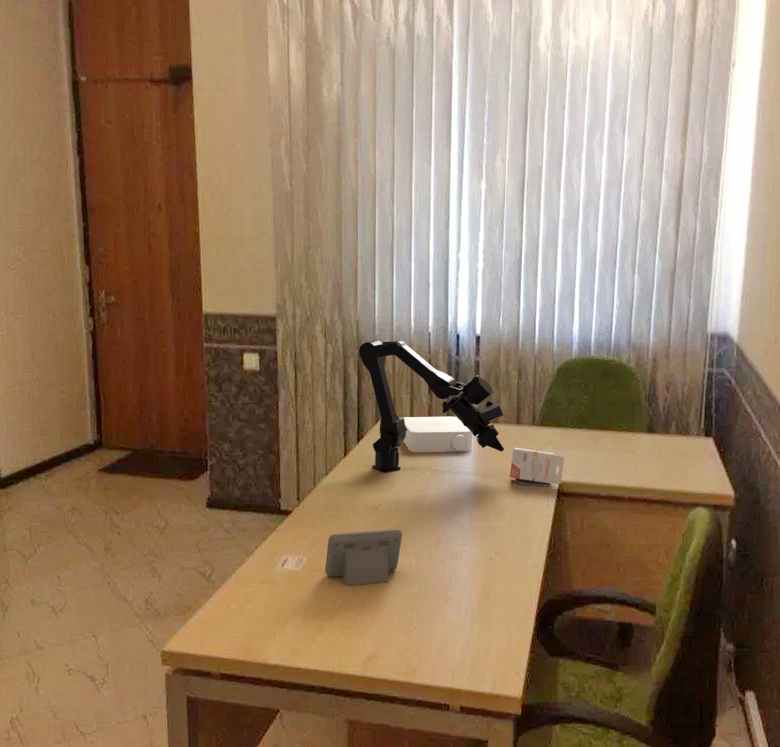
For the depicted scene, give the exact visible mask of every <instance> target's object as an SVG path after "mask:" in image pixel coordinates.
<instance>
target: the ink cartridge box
mask: <svg viewBox="0 0 780 747" xmlns="http://www.w3.org/2000/svg"><path fill="white" fill-rule="evenodd" d="M564 461H565V458H564V456H560V455H555V453H553V452H548V451H543V450H542V451H541V450H535V449H528V448H521V447H514V448H513V451H512V457H511V465H510V470H509V471H510V472H509V478H511V479H516V478H517V479H523V480H530V481H536V482H543V483H547V484H555V485H561V484H562V477H563V469H564ZM557 466H558V470H559V471H558V472H557Z"/></svg>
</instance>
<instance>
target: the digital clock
mask: <svg viewBox="0 0 780 747" xmlns="http://www.w3.org/2000/svg"><path fill="white" fill-rule="evenodd" d="M402 537H403V532H402V530H400V529H395V528H393V529H378V530H377V529H376V530H375V529H374V530H365V531H351V532H340V533H339V532H338V533H333V534H331V535H330V536H329V538H328V541H327V549H326V550H327V551H326V562H325V568H324V569H325V570H324V572H325V574H326V575H327V576H328V577H331V578H334V577H335V578H336V577H342V579H343V580H344V582H345V584H346V585H347V586H359V585H361V586H362V585H370V584H371V585H372V584H380V583H388V581H389V573H391V572H394V571H396V569H398V568H397V567H398V563H399V557H400V550H401V544H402Z"/></svg>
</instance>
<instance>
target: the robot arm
mask: <svg viewBox="0 0 780 747" xmlns="http://www.w3.org/2000/svg"><path fill="white" fill-rule="evenodd" d="M358 354H359V357H360V360H361V361H362V364H363V366H364V367H365V369H366V370H367V371H368V372H369V376H370V377H369V378H370V379H371V383H372V387H373V391H374V397H375V400H376V404H377V409H378V412H379V416H380V423H379V438H378V439H377V440H376V441H375V442H374V443H372V446H373V450H374V452H375V455H374V457H375V458H374V464H372V465H371V467H372V468H373V469H376V470H378V471H379V472H382V473H386V472H391V471H398V470H401V468H402V467H401V466H399V465H400V464H399V463H400V461H399V458H400V453H399V448H398V447H399V446H400V445H401V442H403V440H404V438H405V437H406V431H407V429H406V427H405V421H404V417H401V418H402V419H401V418H400V417H399V416H398V415H397V413H396V409H395V406H394V401H393V397H392V394H391V393H392V392H391V389H390V386H389V382H388V377H387V374H386V369H385V368H386V367H385V366H386V360H387V359H386V357H387V356H388V357H389V356H395V357H396V358H398V359H399V360H400V361H401V362H403V363H404V364H405V365H406V366H408V367H409V369H411V370H412V371H413V372H414V373H415V374H417V375H418V377H420V378H421V379H423V380H424V382H425V383H426V385H427V387H428V389H429V390H430V391H431V393H433V395H434V396H435V397H436V398H438V399H440V400H444V401H443V402H442V414H445V413H448V411H450V413H452V414H453V415H454V417H457V418H458V419H459V420H460V421H461V422H462V423H463V425H464V426H465V427H467V428H468V429H469V430H470V431H471V432H472V436H474V437H476V441H477V444H478V445H479V446H480V447H481V448H482V449H484V448H486V447H489V448H491V449H494V450H496V451H499V452H503V451H505V447H504V446H503V444H502V443H501V442H500V441H499V439H498V435H499V431H498V430H497V428H495V425H494V424H491V421H493V420H495V419H497V418H501V417H503V416H504V413H503V411H502V408H501V405H500V404H499V402H493V401H491V400H487V401H485V400H486V399H488V398H489V397H490V396H492V394H494V391H493V388H492V387H491V384H489V382H487V381H486V380H485V379H483V378H481V377H480V375H475V376H474V377H473V378H472V379H471V381H469V382H468V383H467V384H465V383H462V382H459V381H457V380H456V379H455V378H454V377H452V376H451V375H449V374H447V373H446V372H444V371H441V370H438V369H437V368H435V367H433V366H432V365H431V364H430V363H428V362H427V360H425V359H424V358H423V357H421V355H419V354H418V353H417V352H416V351H415V350H413V349H412V348H411V347H409V345H407V344H406V342H405V341H403V340H395V341H380V340H379V339H372V340H369V341H366V342H363V343H362V344H361V345H360V347H359V349H358ZM452 396H453V397H452ZM450 397H452V398H450ZM449 398H450V399H449ZM447 399H449V400H448V401H445V400H447ZM484 401H485V403H484V407H483V408H481V409H479V408H478V407H475V406H474V405H476V406H479V405H480V404H481V403H482V402H484Z"/></svg>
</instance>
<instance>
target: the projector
mask: <svg viewBox="0 0 780 747" xmlns="http://www.w3.org/2000/svg"><path fill="white" fill-rule="evenodd" d="M402 418H404V421H405V427H406V429H407V431H406V437H405V438H404V440H403V441H402V442H403V443H405V444H406V445H405V446H407V447H408V448H407V447H406V448H407V450H408V451H409V450H410V451H409V452H411V451H414V452H413V453H441V452H443V453H445V452H446V453H447V452H448V453H451V452H470V451H472V450H473V449H472V447H473V434H472V432H471V431H470V430H469V429H468V428H467V427H465V426H464V425H463V423H462V422H461V421H460V420H459V419H458V418H457V417H456V416H407V417H406V416H405V417H401V418H400V419H402Z"/></svg>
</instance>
